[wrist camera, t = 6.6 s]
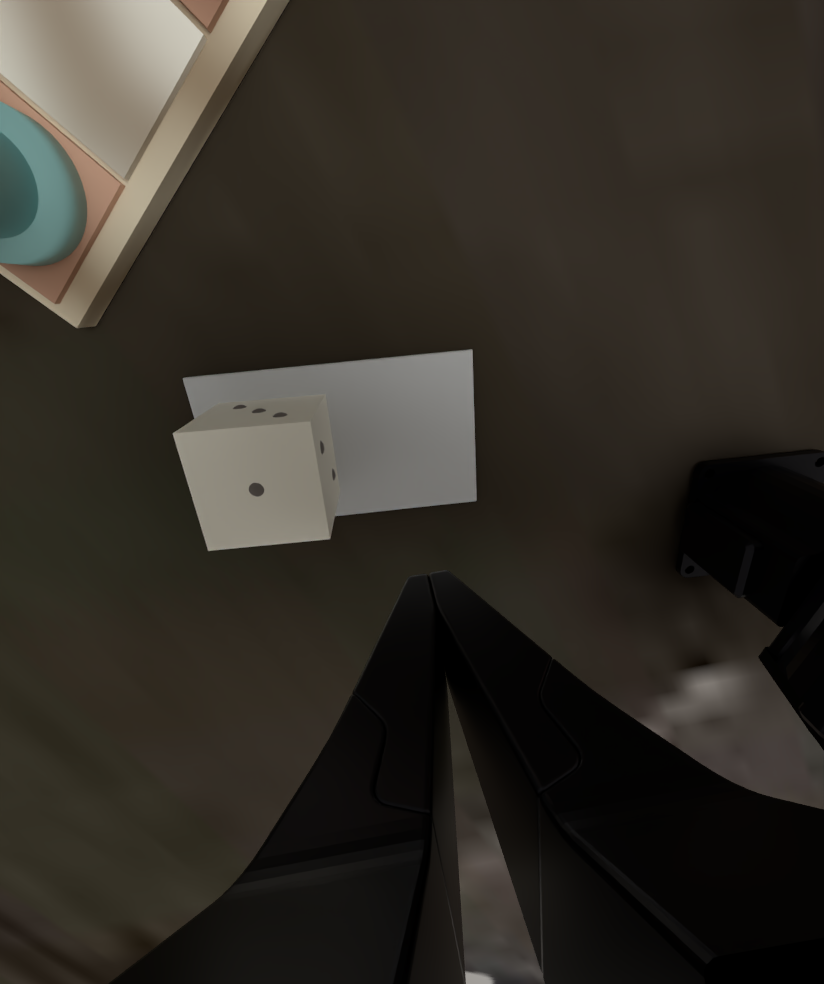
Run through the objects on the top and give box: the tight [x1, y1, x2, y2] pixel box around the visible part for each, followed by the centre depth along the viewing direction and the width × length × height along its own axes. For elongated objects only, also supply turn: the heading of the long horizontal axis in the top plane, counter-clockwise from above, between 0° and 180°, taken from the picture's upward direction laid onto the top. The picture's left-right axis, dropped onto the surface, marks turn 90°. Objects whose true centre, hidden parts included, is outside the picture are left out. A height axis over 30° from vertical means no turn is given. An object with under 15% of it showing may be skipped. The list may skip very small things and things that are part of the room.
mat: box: [183, 349, 477, 516], centre depth 20 cm, size 12×7×1 cm, turn 95°
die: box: [173, 394, 340, 551], centre depth 17 cm, size 5×5×5 cm
